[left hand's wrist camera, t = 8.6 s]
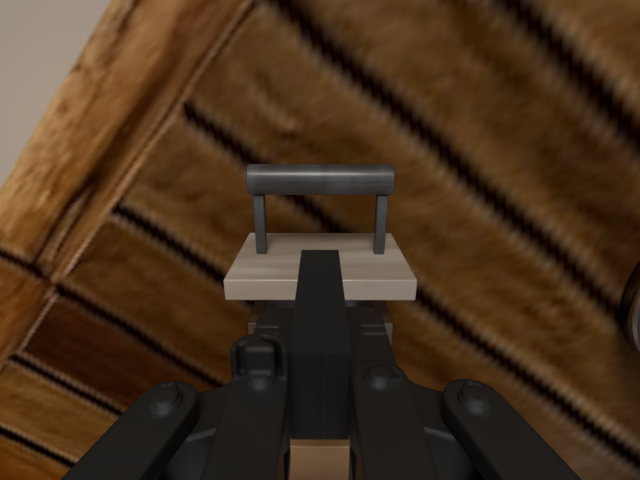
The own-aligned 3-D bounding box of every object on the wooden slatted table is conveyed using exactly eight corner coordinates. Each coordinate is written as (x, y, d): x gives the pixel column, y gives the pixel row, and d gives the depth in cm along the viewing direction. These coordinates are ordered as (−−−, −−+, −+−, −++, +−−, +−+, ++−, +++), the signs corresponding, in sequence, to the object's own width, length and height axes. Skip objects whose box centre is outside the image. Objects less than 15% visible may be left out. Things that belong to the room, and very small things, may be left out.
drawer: (244, 155, 24) (212, 176, 17) (396, 156, 24) (428, 176, 17) (263, 433, 32) (247, 525, 25) (376, 433, 32) (392, 525, 25)
